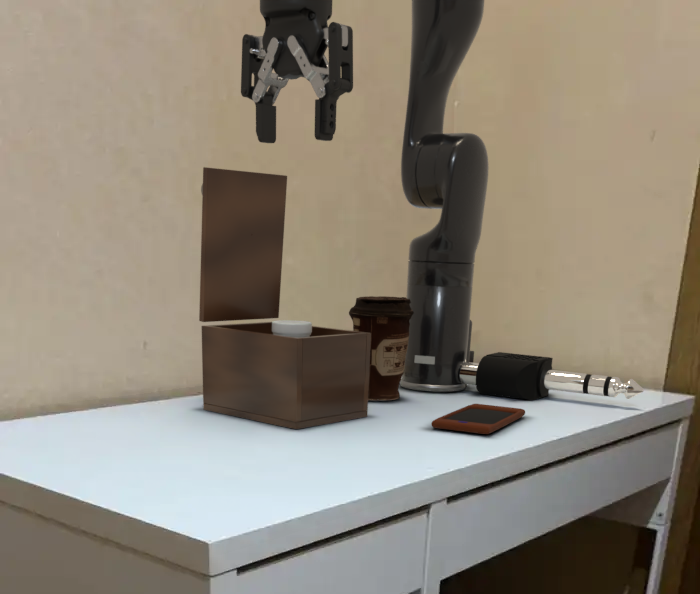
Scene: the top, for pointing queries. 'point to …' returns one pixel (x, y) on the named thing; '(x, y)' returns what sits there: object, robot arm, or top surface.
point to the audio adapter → (537, 378)
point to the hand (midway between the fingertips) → (294, 141)
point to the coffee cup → (384, 341)
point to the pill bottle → (292, 328)
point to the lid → (241, 244)
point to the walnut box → (285, 374)
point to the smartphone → (478, 418)
